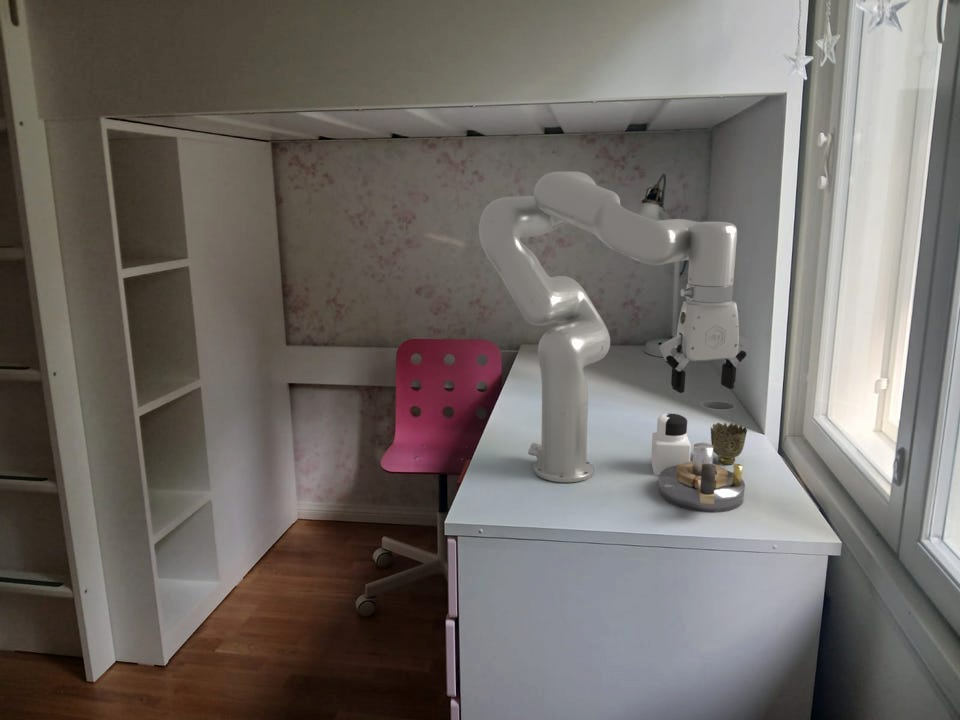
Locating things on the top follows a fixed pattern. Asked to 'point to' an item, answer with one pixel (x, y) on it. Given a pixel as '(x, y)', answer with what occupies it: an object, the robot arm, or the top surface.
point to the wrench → (703, 479)
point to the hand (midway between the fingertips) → (702, 388)
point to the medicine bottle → (670, 443)
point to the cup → (727, 441)
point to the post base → (689, 497)
